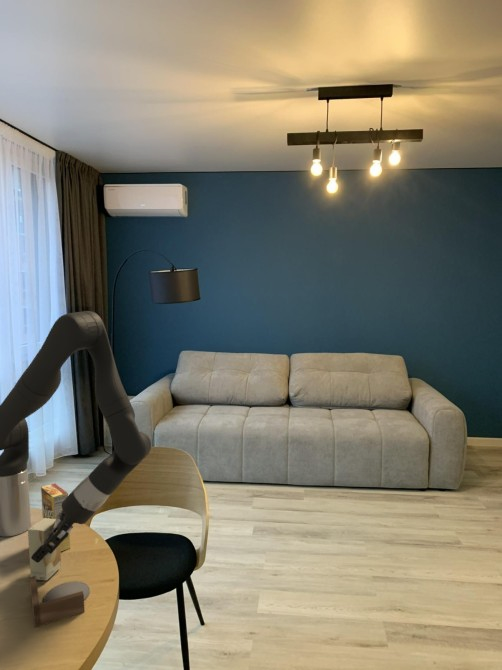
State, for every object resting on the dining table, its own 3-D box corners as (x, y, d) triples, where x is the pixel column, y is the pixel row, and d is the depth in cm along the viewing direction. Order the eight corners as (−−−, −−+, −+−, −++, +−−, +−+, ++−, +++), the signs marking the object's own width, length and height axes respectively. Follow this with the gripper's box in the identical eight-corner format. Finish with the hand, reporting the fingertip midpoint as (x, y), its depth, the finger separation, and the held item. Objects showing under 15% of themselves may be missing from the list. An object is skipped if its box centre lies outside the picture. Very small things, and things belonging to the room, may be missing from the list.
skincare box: (46, 581, 113) (43, 531, 111) (30, 579, 114) (26, 530, 112) (62, 565, 119) (59, 518, 118) (46, 564, 120) (43, 516, 119)
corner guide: (30, 594, 109) (29, 577, 109) (76, 581, 114) (75, 565, 113) (34, 627, 98) (33, 608, 98) (84, 611, 103) (83, 594, 102)
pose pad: (48, 585, 112) (48, 584, 112) (92, 579, 114) (92, 578, 114) (39, 613, 103) (39, 611, 103) (86, 606, 105) (86, 604, 105)
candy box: (43, 541, 132) (39, 487, 130) (58, 535, 135) (55, 482, 133) (55, 554, 125) (52, 497, 124) (72, 547, 128) (68, 492, 127)
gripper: (78, 477, 123) (32, 526, 122) (69, 502, 109) (17, 558, 108) (101, 495, 124) (56, 544, 123) (95, 522, 110) (44, 577, 109)
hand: (38, 550), depth 115 cm, fingers closed on skincare box, 7 cm apart
